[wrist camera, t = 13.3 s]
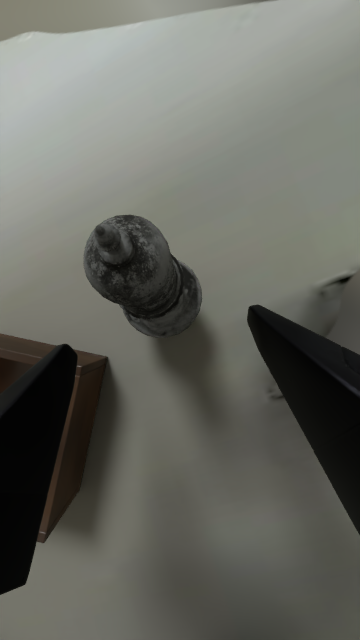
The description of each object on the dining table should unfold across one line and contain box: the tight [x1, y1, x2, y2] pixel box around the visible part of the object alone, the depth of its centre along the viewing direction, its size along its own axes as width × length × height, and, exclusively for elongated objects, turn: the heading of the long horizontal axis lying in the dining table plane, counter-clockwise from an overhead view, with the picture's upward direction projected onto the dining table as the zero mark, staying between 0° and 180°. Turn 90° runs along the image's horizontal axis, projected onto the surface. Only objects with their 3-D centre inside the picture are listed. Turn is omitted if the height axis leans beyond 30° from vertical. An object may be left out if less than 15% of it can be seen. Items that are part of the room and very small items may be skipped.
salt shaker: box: [84, 215, 202, 338], centre depth 10 cm, size 6×6×12 cm
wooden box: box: [0, 334, 107, 543], centre depth 14 cm, size 12×12×4 cm
